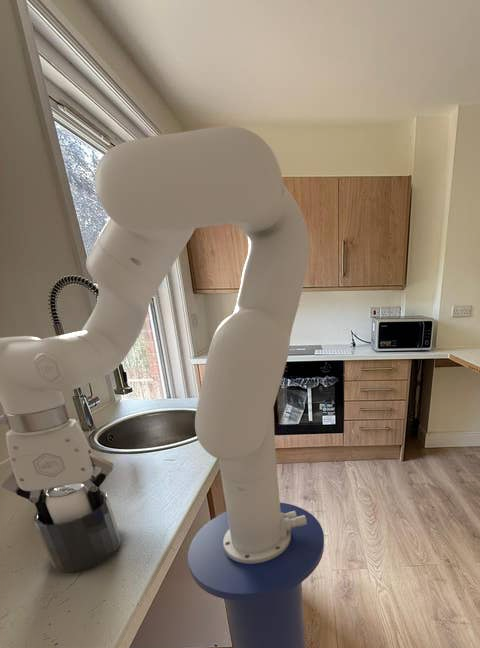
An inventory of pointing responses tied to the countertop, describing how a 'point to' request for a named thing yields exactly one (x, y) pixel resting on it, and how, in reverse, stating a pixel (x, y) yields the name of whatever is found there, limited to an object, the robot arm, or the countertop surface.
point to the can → (68, 502)
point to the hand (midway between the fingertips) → (74, 511)
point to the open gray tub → (80, 539)
